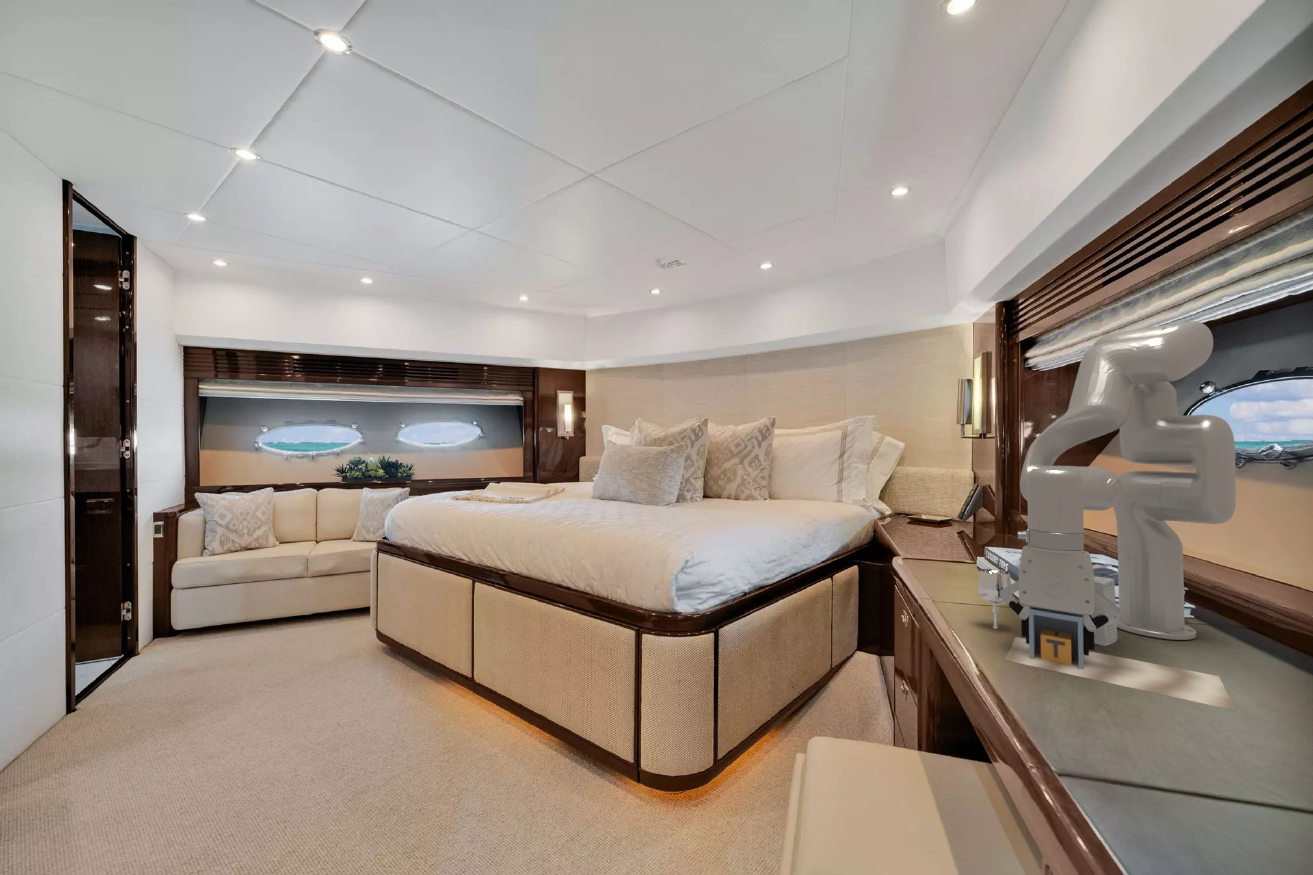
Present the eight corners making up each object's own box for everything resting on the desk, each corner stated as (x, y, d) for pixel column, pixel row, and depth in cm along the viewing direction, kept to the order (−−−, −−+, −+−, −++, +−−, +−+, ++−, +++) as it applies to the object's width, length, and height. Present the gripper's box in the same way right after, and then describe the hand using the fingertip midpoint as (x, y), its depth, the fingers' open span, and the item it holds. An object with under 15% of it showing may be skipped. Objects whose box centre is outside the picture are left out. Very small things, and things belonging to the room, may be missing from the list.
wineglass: (971, 630, 104) (970, 569, 104) (990, 626, 106) (990, 567, 107) (1000, 639, 99) (999, 576, 99) (1020, 635, 101) (1019, 573, 101)
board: (1005, 666, 87) (1005, 659, 87) (1015, 642, 97) (1015, 637, 98) (1236, 718, 70) (1236, 710, 70) (1219, 682, 81) (1218, 676, 81)
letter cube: (1043, 651, 90) (1042, 628, 91) (1072, 657, 88) (1072, 633, 88) (1040, 658, 87) (1040, 634, 87) (1071, 665, 85) (1071, 640, 85)
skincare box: (1106, 652, 93) (1105, 583, 93) (1076, 644, 97) (1074, 578, 97) (1118, 644, 96) (1117, 578, 97) (1088, 637, 100) (1087, 574, 100)
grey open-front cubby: (1033, 646, 93) (1033, 601, 93) (1084, 656, 88) (1083, 608, 88) (1029, 658, 88) (1028, 610, 88) (1083, 669, 83) (1082, 619, 83)
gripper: (991, 538, 91) (992, 641, 91) (1124, 551, 80) (1127, 668, 79) (997, 533, 97) (999, 630, 96) (1123, 544, 86) (1125, 653, 85)
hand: (1057, 646), depth 88 cm, fingers closed on grey open-front cubby, 7 cm apart
